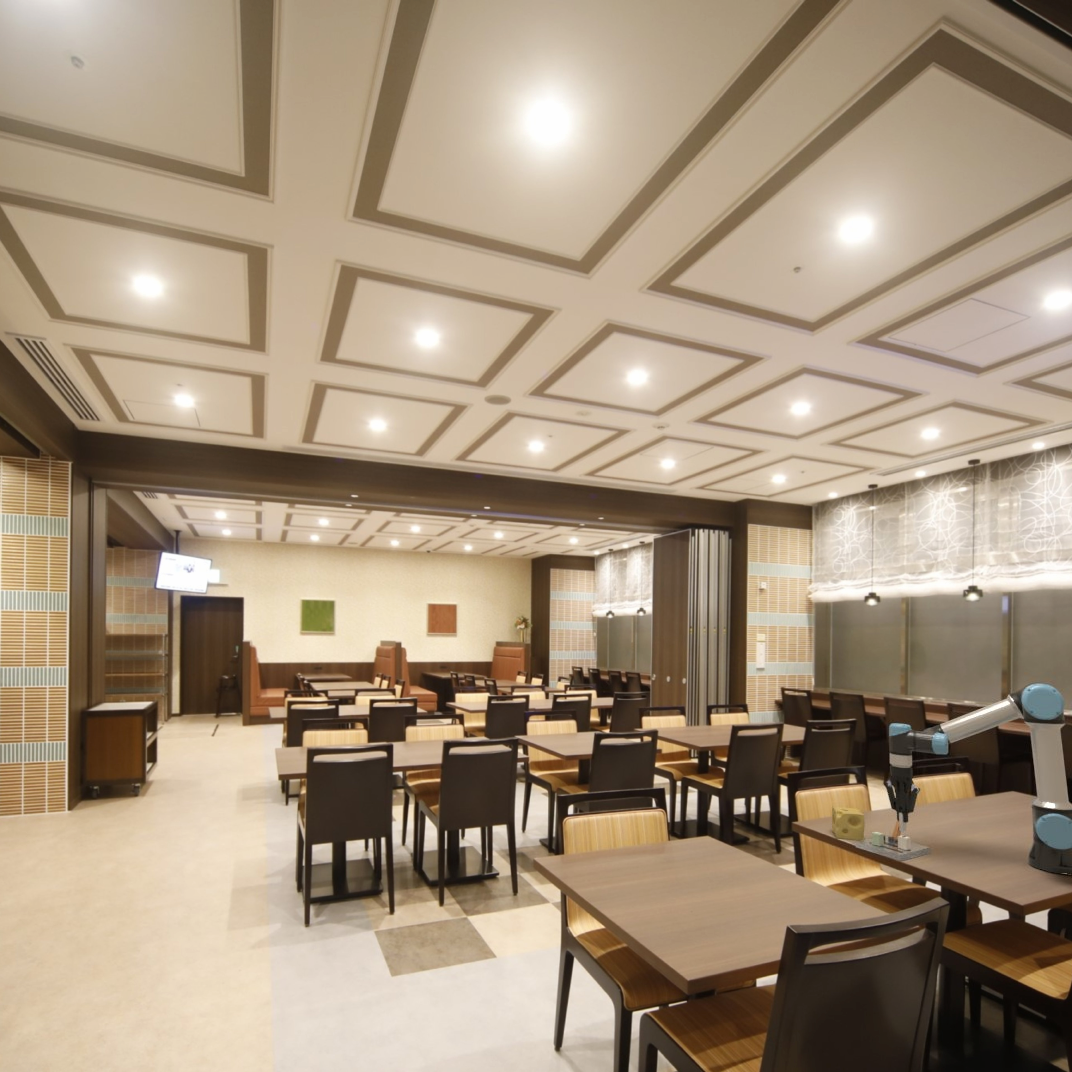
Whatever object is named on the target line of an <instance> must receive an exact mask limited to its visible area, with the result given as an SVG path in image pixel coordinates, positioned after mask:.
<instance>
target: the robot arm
mask: <svg viewBox="0 0 1072 1072" xmlns="http://www.w3.org/2000/svg"><path fill="white" fill-rule="evenodd" d="M1064 710H1065V700H1064V697H1063V695H1062V694H1061V692H1060V691H1059V690H1058V689H1057V688H1056V687H1054V686H1052V685H1050V684H1047V683H1043V682H1032V683H1029V684H1027V685H1025V686H1024V687H1022V688H1020V689H1019V690H1016V691H1014V692H1012V693H1009V694H1008V695H1007V697H1006V698H1005V699H1002V700H1000V701H997V702H994V703H992V704H989V705H986V706H984V707H982V708H979V709H976V710H974V711H971V712H968V713H966V714H963V715H961V716H958V717H956V718H953V719H951V720H947V721H945V722H943V723H940V724H938V725H935V726H933V727H927V728H925V729H923V731H922V730H921V731H919V730H913V729H912V726H911V725H910V724H906V723H890V725H889V727H888V734H889V735H888V743H889V744H888V745H889V764H890V766H889V775H890V778H889V780H888V781H884V782H883V786H884V787H885V789H886V792H887V796H888V800H889V804H890V808H891V809H892V810H894V811H895V812H896V820H897V822H898V821H899V830H900V831H901V833H902V832H903V833H904V832H906V831H907V823H908V822H909V814H911V813H914V811H915V806H916V802H917V797H918V794H919V793H920V791H921V788H920V787H917V786H916V785H915V784H914V780H913V768H912V766H913V754H912V753H913V752H920V753H928V754H934V755H935V754H936V755H948V753H949V745H950V744H952V743H955V742H957V741H960V740H963V739H966V738H969V737H971V736H974V735H976V734H977V735H978V734H980V733H982V732H985V731H987V730H991V729H993V728H995V727H996V728H997V727H998V726H1001V725H1003V724H1006V723H1009V722H1011V721H1015V720H1018V719H1023V723H1024V724H1026V726H1028V727H1029V731H1030V732H1029V733H1030V741H1031V750H1032V759H1033V766H1034V767H1033V768H1034V777H1035V785H1036V786H1035V787H1036V788H1035V789H1036V797H1037V798H1033V799H1032V800H1031V806H1030V807H1031V814H1032V832H1033V833H1032V838H1033V841H1032V845H1031V847H1030V849H1029V853H1028V857H1027V859H1028V860H1027V862H1028V864H1029V865H1030V866H1031V867H1033V868H1036V869H1038V870H1040V869H1042V870H1041V871H1044V870H1045V871H1044V872H1047V871H1050V872H1049V873H1051V872H1056V873H1067V874H1072V803H1071V802H1070V801H1069V794H1068V785H1067V777H1066V775H1067V774H1066V768H1065V760H1064V758H1065V757H1064V751H1063V743H1062V741H1063V740H1062V733H1061V729H1062V728H1063V727H1064V726H1065V725H1066V722H1065V720H1066V719H1065V711H1064ZM910 790H911V793H910ZM909 794H910V796H909ZM1056 873H1055V874H1056Z"/></svg>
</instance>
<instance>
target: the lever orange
mask: <svg viewBox="0 0 1072 1072" xmlns="http://www.w3.org/2000/svg"><path fill="white" fill-rule="evenodd" d="M901 833H902V832H901V831H900V830H899V821H898V820H897V821H896V823H895V826H894V828H893V833H892V835H891V837H894V841H898V836H901Z"/></svg>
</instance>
